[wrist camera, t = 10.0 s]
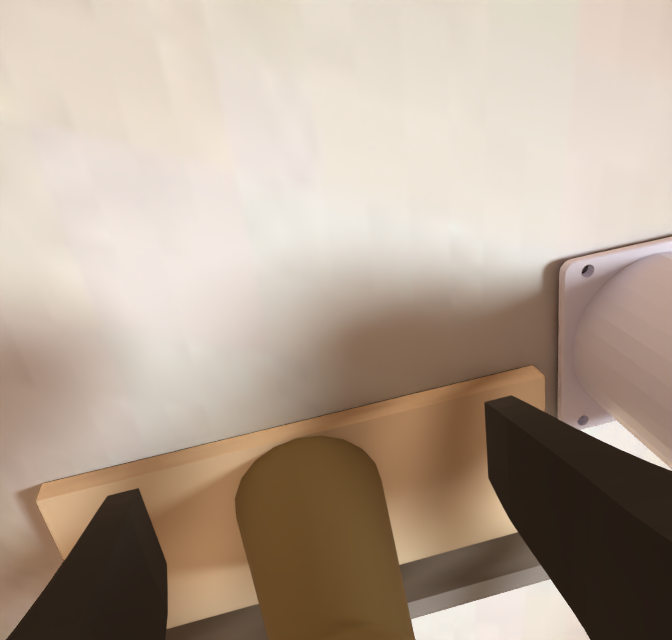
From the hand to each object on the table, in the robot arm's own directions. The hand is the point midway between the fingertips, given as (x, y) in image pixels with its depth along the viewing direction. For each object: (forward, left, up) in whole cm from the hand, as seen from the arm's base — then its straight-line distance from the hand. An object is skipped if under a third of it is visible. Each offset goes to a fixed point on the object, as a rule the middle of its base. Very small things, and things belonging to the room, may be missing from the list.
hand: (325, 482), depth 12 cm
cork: (0, +9, -10) cm, 13 cm away
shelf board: (0, +10, -10) cm, 14 cm away
